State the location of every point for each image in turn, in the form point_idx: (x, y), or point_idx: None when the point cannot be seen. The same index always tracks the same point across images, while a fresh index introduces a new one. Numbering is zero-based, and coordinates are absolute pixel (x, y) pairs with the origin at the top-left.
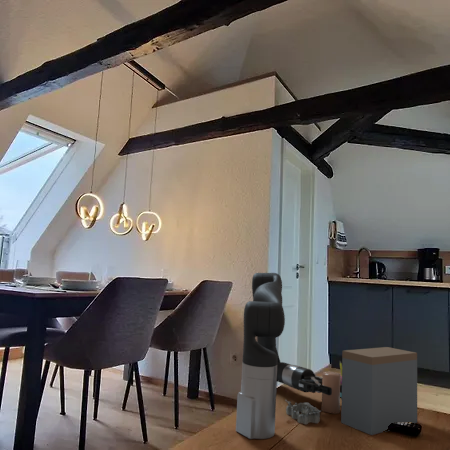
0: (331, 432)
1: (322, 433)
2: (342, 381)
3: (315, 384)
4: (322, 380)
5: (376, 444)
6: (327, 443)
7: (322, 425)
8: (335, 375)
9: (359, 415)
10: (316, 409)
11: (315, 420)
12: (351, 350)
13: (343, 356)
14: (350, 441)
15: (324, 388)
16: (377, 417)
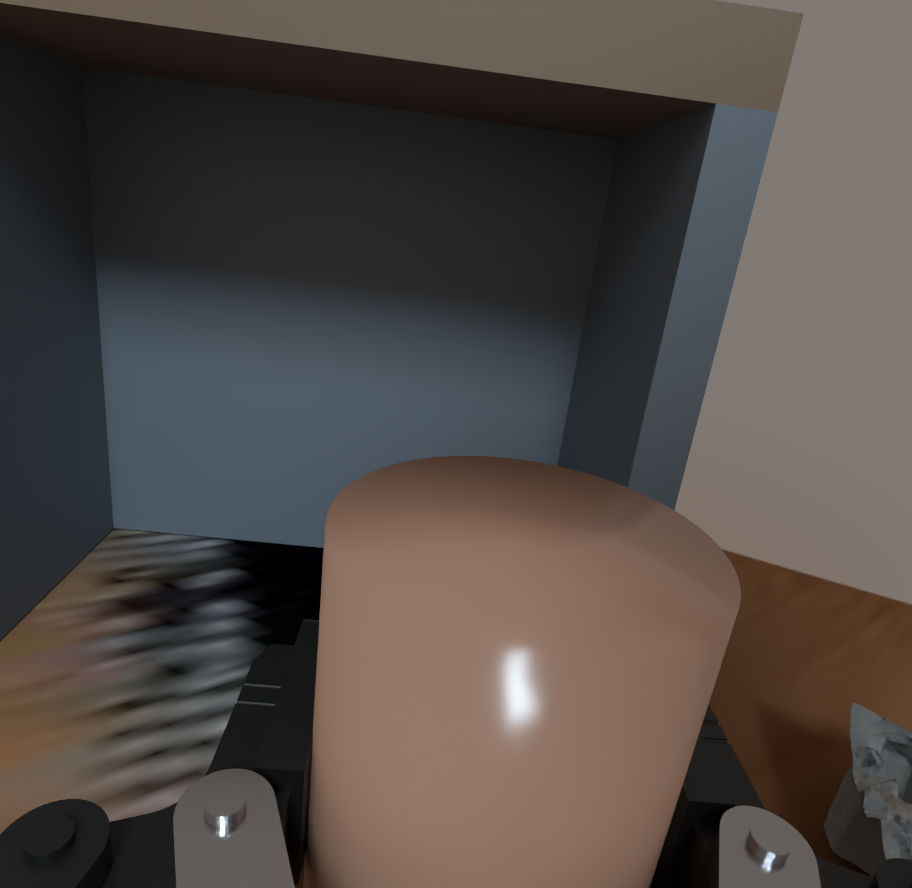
0: (806, 663)
1: (885, 679)
2: (704, 381)
3: (880, 870)
4: (686, 766)
5: None
6: (895, 610)
7: (830, 755)
8: (546, 475)
9: None
10: (890, 782)
11: (899, 792)
12: (656, 1)
13: (774, 94)
14: (743, 576)
15: (716, 727)
16: None
